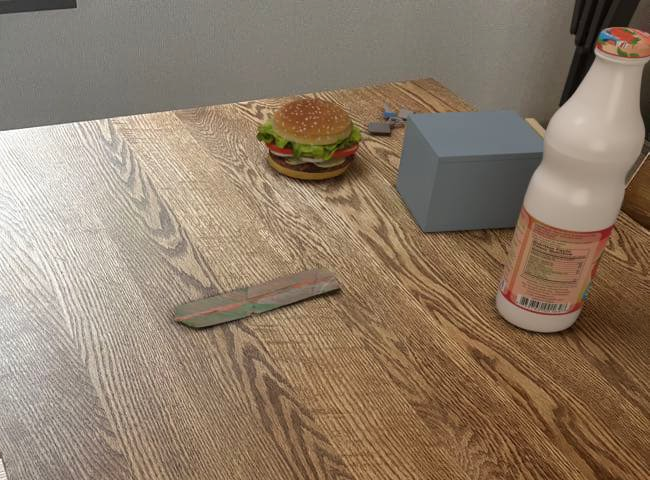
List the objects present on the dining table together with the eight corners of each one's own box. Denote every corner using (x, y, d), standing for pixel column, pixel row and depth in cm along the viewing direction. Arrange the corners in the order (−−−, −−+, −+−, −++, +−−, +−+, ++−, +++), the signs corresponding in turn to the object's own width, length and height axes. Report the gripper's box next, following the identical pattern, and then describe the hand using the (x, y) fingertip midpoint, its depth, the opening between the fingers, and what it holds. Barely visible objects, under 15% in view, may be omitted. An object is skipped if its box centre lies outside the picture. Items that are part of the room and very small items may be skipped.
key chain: (376, 138, 123) (377, 132, 122) (343, 118, 127) (343, 113, 126) (445, 119, 128) (447, 114, 127) (411, 101, 132) (411, 96, 132)
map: (165, 314, 92) (165, 306, 91) (323, 265, 98) (323, 258, 97) (184, 338, 89) (184, 331, 88) (345, 286, 95) (346, 279, 94)
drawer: (555, 174, 115) (574, 116, 109) (591, 214, 107) (613, 153, 102) (424, 181, 112) (436, 121, 106) (451, 222, 105) (465, 160, 99)
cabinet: (495, 181, 115) (514, 109, 108) (530, 226, 107) (553, 151, 99) (395, 186, 113) (407, 113, 106) (423, 232, 105) (439, 156, 97)
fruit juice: (478, 294, 95) (553, 21, 74) (548, 283, 97) (641, 14, 76) (520, 340, 89) (614, 58, 69) (594, 327, 92) (707, 49, 71)
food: (312, 133, 123) (317, 76, 118) (374, 169, 116) (383, 110, 110) (238, 155, 118) (239, 95, 112) (298, 194, 111) (303, 132, 105)
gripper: (586, -147, 88) (522, 88, 106) (644, -120, 80) (564, 131, 98) (650, -147, 89) (576, 86, 107) (714, -119, 81) (623, 128, 99)
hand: (571, 107), depth 102 cm, fingers closed
